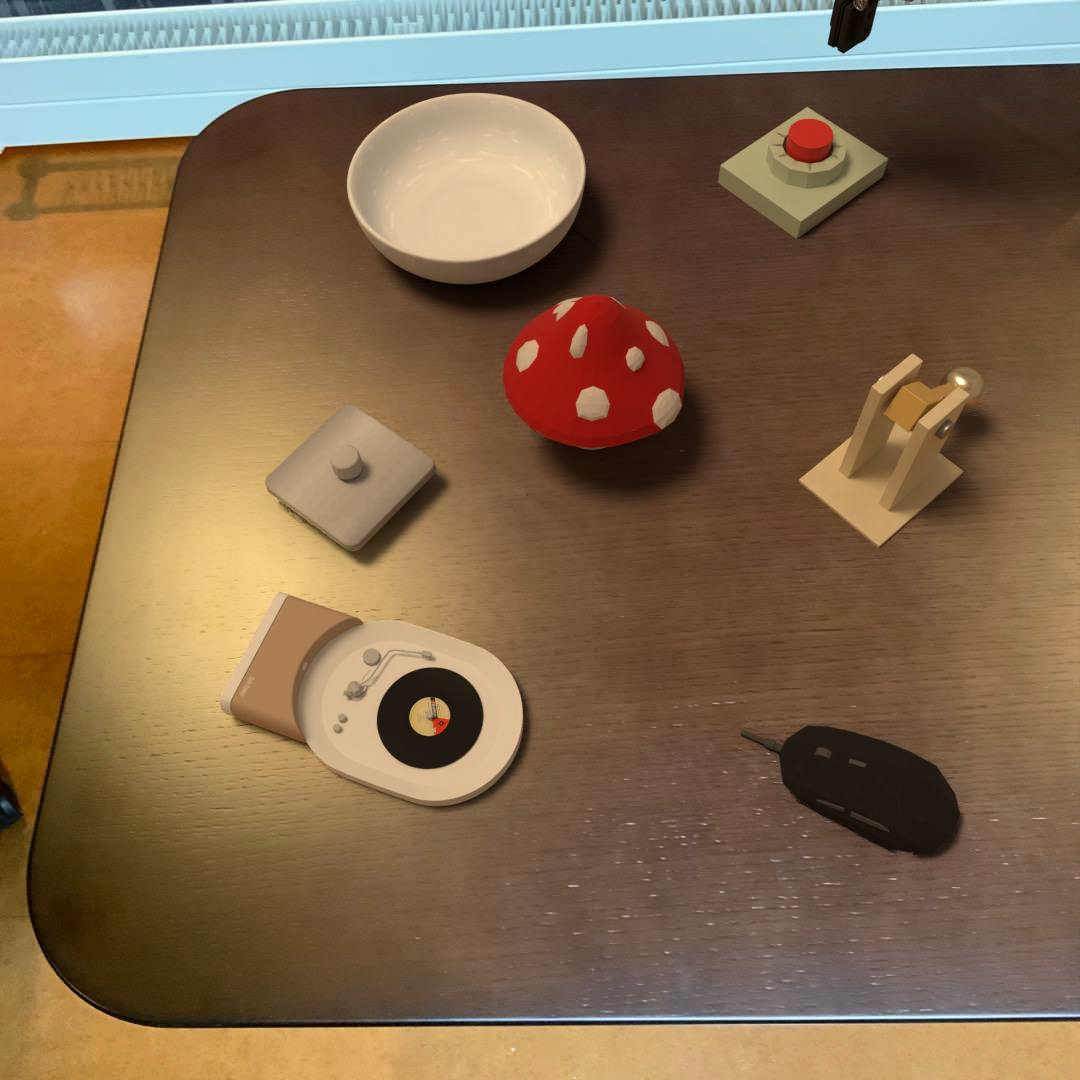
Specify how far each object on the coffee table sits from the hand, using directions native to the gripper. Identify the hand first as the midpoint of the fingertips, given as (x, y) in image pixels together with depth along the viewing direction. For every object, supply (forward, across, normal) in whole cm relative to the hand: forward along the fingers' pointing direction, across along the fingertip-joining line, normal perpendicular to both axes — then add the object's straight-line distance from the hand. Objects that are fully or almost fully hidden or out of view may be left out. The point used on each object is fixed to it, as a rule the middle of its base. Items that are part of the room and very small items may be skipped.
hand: (847, 41), depth 86 cm
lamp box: (+15, +1, +1) cm, 15 cm away
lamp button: (+11, +1, +1) cm, 11 cm away
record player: (+14, -15, +62) cm, 65 cm away
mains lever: (+9, -26, +18) cm, 33 cm away
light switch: (+14, +1, +53) cm, 55 cm away
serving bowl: (+14, +17, +28) cm, 36 cm away
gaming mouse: (+15, -40, +42) cm, 60 cm away
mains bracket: (+15, -26, +22) cm, 37 cm away
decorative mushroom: (+15, -7, +35) cm, 38 cm away
